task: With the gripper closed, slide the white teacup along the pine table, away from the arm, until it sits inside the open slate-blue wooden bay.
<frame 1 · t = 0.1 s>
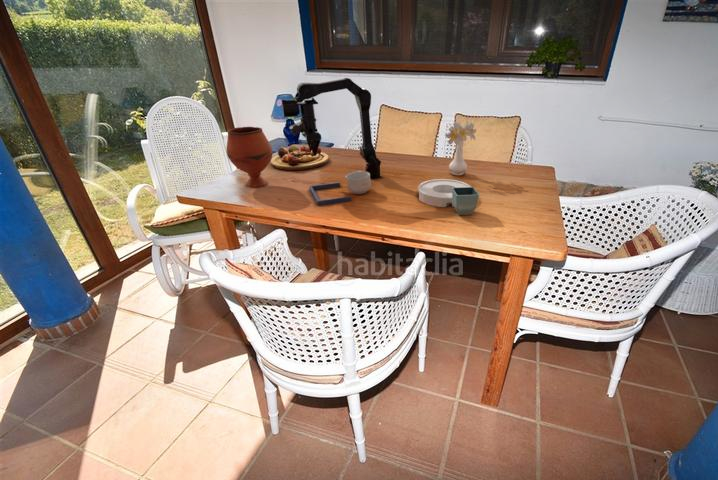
hand: (312, 152, 162), 15 cm above the table, tool pointing down, fingers open, 9 cm apart
ashtray: (444, 197, 155), on the table
flower vase: (457, 174, 181), on the table
flower pot: (463, 213, 141), on the table
goblet: (257, 184, 169), on the table
teacup: (360, 191, 162), on the table
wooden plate: (300, 162, 200), on the table
bay: (330, 194, 157), on the table
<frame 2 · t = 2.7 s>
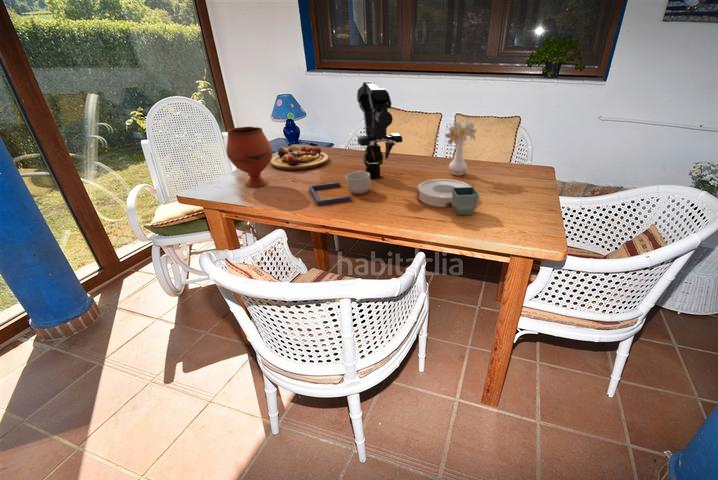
hand: (380, 159, 158), 13 cm above the table, tool pointing down, fingers open, 5 cm apart
nothing on the table moved.
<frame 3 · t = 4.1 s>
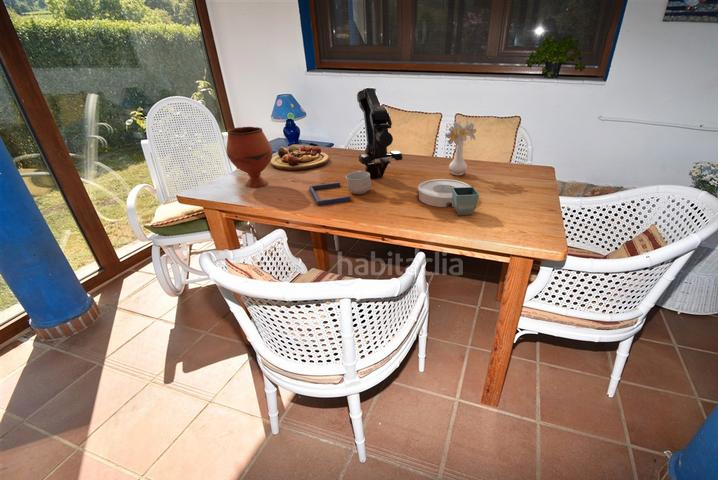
hand: (381, 176, 162), 5 cm above the table, tool pointing down, fingers closed
nothing on the table moved.
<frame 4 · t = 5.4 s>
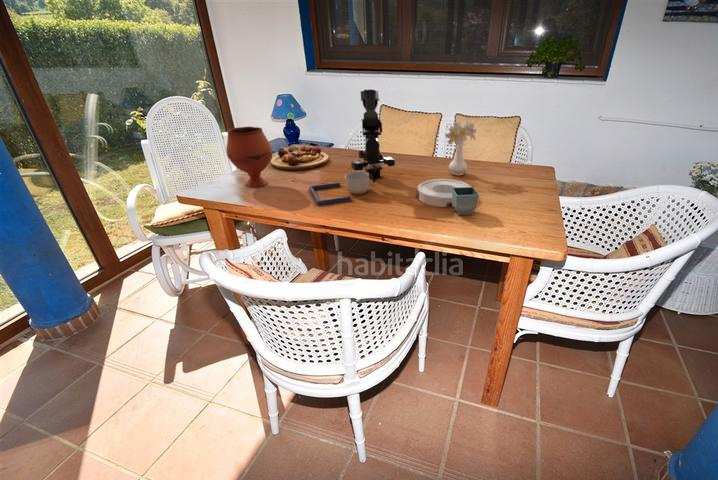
hand: (374, 182, 162), 3 cm above the table, tool pointing down, fingers closed
teacup: (359, 191, 161), on the table, touching gripper
everything else where it was.
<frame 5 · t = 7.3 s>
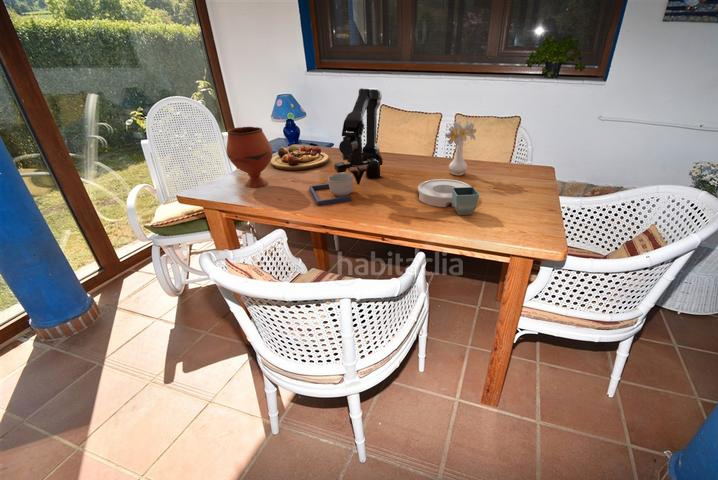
hand: (358, 184, 160), 3 cm above the table, tool pointing down, fingers closed
teacup: (343, 193, 159), on the table, touching gripper
everything else where it was.
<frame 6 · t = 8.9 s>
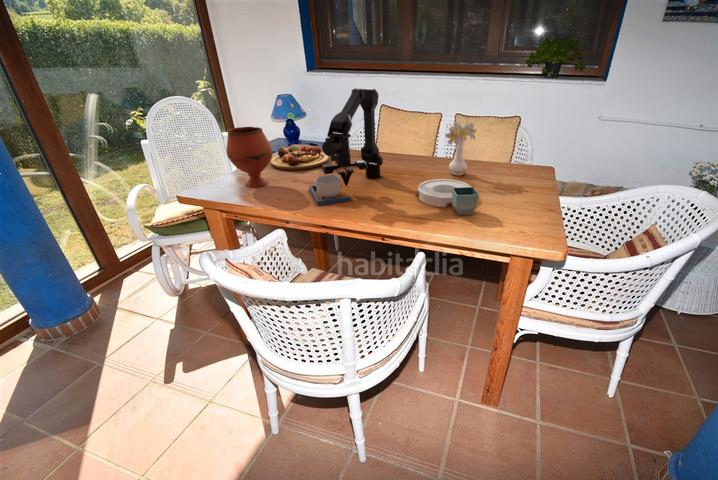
hand: (346, 185, 158), 3 cm above the table, tool pointing down, fingers closed
teacup: (330, 195, 158), on the table, touching gripper
everything else where it was.
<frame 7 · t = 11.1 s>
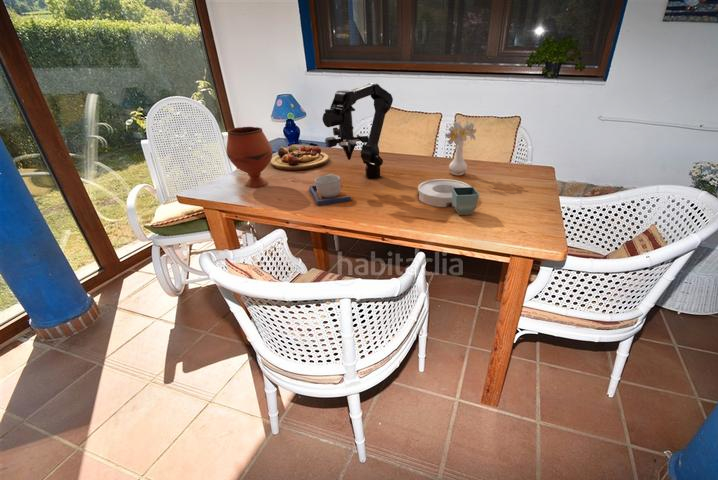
hand: (349, 159, 162), 12 cm above the table, tool pointing down, fingers closed
teacup: (330, 195, 158), on the table
everything else where it was.
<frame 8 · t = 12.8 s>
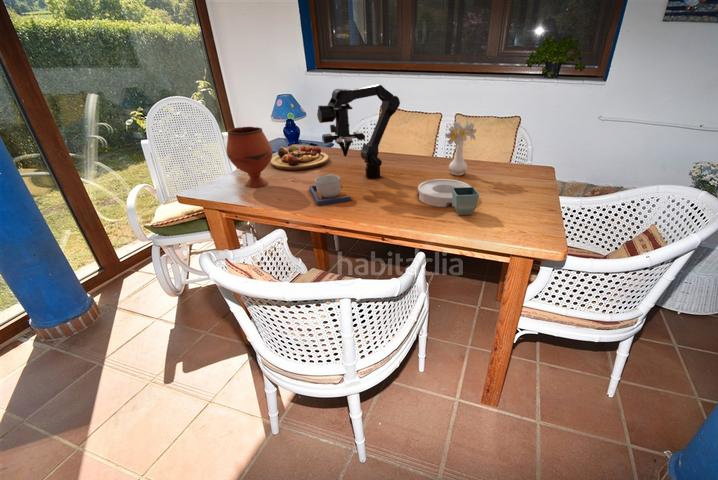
hand: (345, 156, 166), 12 cm above the table, tool pointing down, fingers closed
nothing on the table moved.
at the end: teacup inside the target area on the bay (1.1 cm from its centre), point 0.0 cm above the bay's base; teacup tilted 0° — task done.
